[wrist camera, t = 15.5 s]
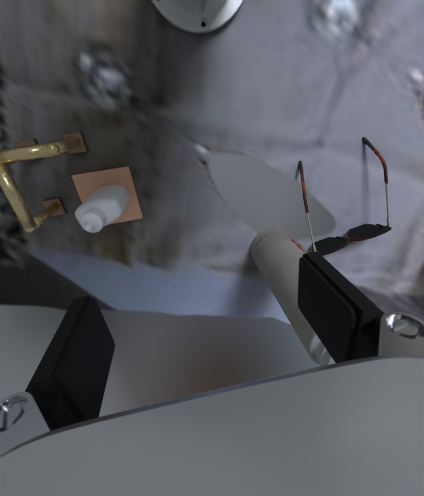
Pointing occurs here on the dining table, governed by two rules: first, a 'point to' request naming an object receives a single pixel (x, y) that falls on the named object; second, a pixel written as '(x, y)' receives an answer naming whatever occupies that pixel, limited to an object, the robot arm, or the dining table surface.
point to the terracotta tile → (114, 176)
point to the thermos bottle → (287, 284)
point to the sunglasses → (356, 233)
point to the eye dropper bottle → (102, 207)
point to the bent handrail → (30, 152)
